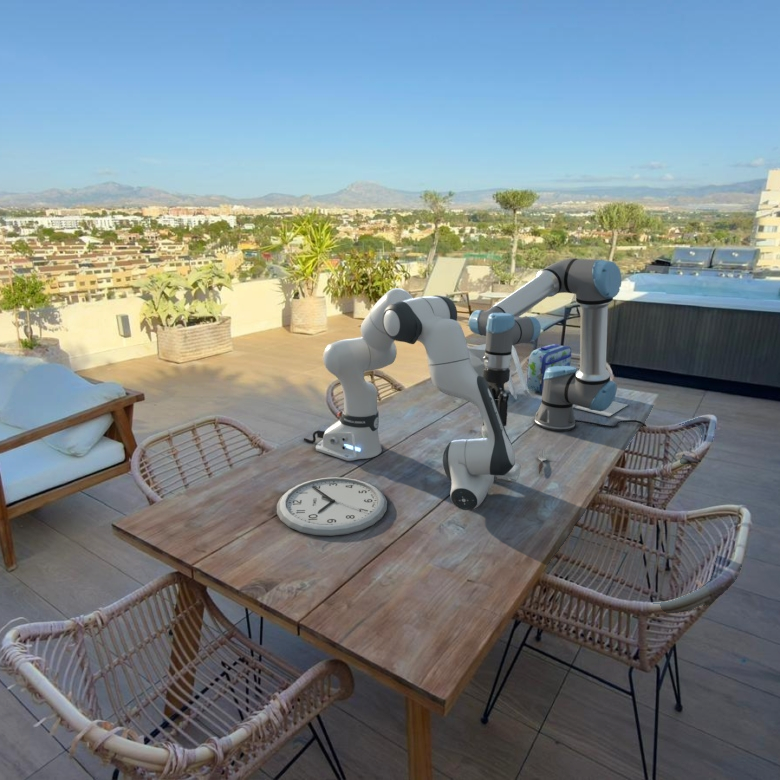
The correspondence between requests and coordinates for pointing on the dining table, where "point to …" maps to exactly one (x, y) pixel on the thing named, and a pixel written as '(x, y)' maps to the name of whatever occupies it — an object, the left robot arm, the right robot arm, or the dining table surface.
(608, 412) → the invitation card
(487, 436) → the lid
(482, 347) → the white plastic object
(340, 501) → the wall clock
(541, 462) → the fork
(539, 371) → the lunch box
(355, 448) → the left robot arm
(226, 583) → the dining table surface
